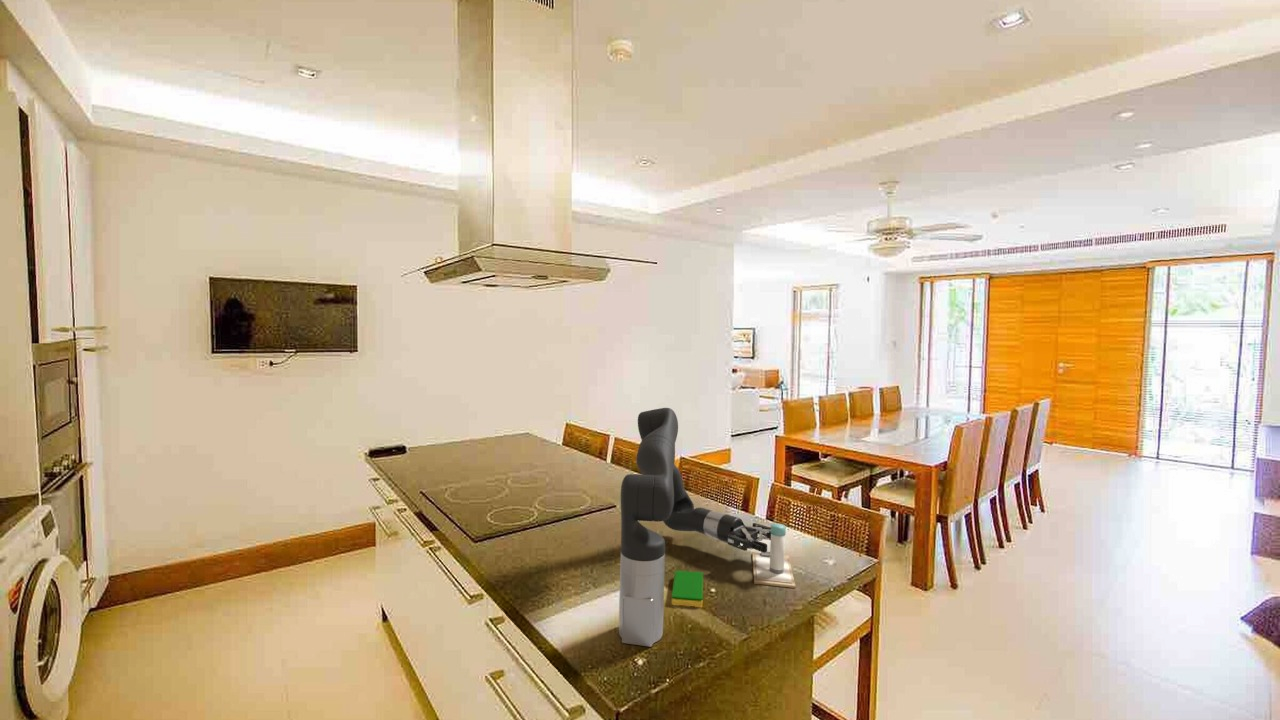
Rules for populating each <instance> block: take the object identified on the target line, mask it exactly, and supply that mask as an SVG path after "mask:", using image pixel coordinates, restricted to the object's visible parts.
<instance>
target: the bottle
mask: <svg viewBox="0 0 1280 720" xmlns="http://www.w3.org/2000/svg"><path fill="white" fill-rule="evenodd" d="M770 527H771V540H770V547H769V548H770V551H769V552H770V571H771V572H772V573H775V574H782V573H783V572H784V556H785V546H786V542H785V541H786V533H787V532H786V530H787V526H786V525H784V524H782V523H777V522H776V523H771V524H770Z"/></svg>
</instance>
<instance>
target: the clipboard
mask: <svg viewBox="0 0 1280 720" xmlns="http://www.w3.org/2000/svg"><path fill="white" fill-rule="evenodd" d="M752 569H753V582H754V583H753V584H755V585H756V584H757V585H763V586H764V585H765V586H772V587H781V588H791V589H796V583H795V579H794V574H793V570H792V565H791V561H790V556H789V555H784V572H783V573H782V574H775V573H772V572H771V571H770V551H767V552H765V553H764V552H761V551H760V552H753V551H752Z"/></svg>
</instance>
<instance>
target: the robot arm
mask: <svg viewBox="0 0 1280 720" xmlns="http://www.w3.org/2000/svg"><path fill="white" fill-rule="evenodd" d="M637 428H638V432H639V437H640V439H641V441H640V444H639V445H638V449H637V452H636V453H637V454H636V461H635V462H636V466H637V468H638V470H639V472H640V473H641V474H638V473H637V474H636V473H630V474H629V473H628V474H626V475H625V476H624V477H623V480H622V482H621V486H620V487H621V488H620V516H621V517H620V523H621V525H620V526H621V527H620V529H621V530H620V532H621V534H620V562H619V563H620V565H619V566H620V567H619V568H620V569H619V599H618V601H619V602H618V604H619V605H618V634H619V637H620V638H621V643H622V644H629V645H637V646H641V647H642V646H643V647H650V648H651V647H653V645H654V643H656V642H658V641H660V640H661V638H662V637H663V634H664V606H665V605H664V604H665V603H664V602H665V600H664V599H665V568H666V565H665V564H666V563H665V562H666V541H665V537H663V536H662V535H661V534H660V533H658V532H656V531H653V530H651V529H649V528H648V527H645V526H644V525H643V524H642V523H641V521H642V522H655V523H656V522H662V523H664V525H666V527H667V528H669V529H671V530H673V531H678V532H697V533H699V534H700V533H701V534H703V535H706V536H708V537H710V538H713V539H715V540H716V541H717V540H718V541H719V542H720V541H721V542H723V543H726V544H727V545H728V546H731V547H734V548H736V549H739V550H742V551H744V552H745V551H748V550H751V551H752V550H756V551H758V552H760V553H761V552H764V553H765V552H768V544H767V543H765V542H762V541H763V540H767V541H771V526H767V525H764V524H760V523H756V522H752V524H751V525H745V524H744V521H743V520H742V518H740V517H738V516H734V515H730V514H727V513H724V512H721V511H715V510H714V511H713V510H710V509H707V508H704V507H696V508H695V505H694V502H693V501H692V499H691V497H690V496H689V494H688V493H687V491H686V489H685V486H684V483H683V477H682V474H681V472H680V470H679V468H678V467H677V466H676V464H675V459H676V441H677V438H678V432H679V421H678V417H677V414H676V412H675V411H674V410H673V409H672V408H669V407H660V408H655V409H651V410H644V411H641V412H640V413H639V414H638V416H637Z"/></svg>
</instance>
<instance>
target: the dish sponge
mask: <svg viewBox="0 0 1280 720" xmlns="http://www.w3.org/2000/svg"><path fill="white" fill-rule="evenodd" d="M672 583H673V584H672V592H671V605H672V604H674V605H673V606H679V605H686V606H685V607H690V606H695V607H694V608H703V607H704V606H703V602H704V601H703V599H704V598H703V596H704V595H703V594H704V572H701V571H689V570H688V571H687V570H674V577H673V582H672Z"/></svg>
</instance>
